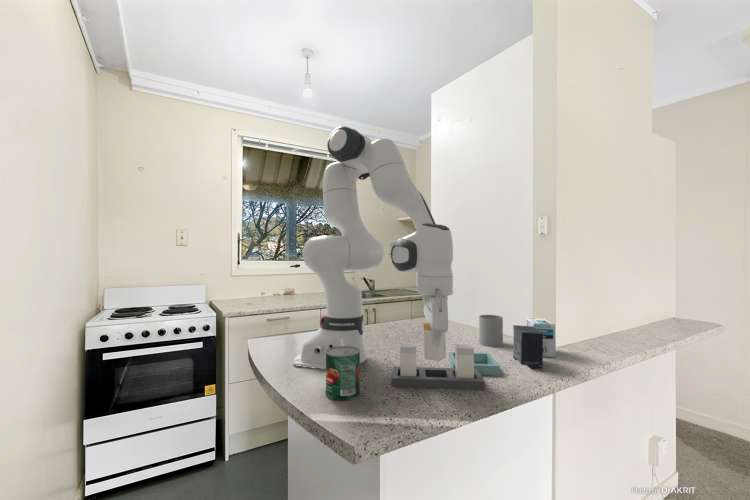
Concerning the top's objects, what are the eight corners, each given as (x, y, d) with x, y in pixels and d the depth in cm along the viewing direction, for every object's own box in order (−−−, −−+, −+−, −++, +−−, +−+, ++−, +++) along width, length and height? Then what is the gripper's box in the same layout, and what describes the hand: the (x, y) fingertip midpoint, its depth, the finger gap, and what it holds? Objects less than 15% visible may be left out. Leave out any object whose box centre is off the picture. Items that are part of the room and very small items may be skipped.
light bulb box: (556, 357, 110) (556, 324, 110) (533, 356, 111) (533, 323, 111) (546, 348, 120) (546, 318, 120) (526, 347, 122) (525, 317, 122)
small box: (544, 369, 99) (544, 332, 99) (520, 368, 100) (520, 332, 100) (533, 358, 109) (533, 325, 109) (512, 357, 110) (512, 324, 111)
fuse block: (391, 390, 84) (391, 378, 84) (393, 377, 93) (393, 366, 93) (484, 394, 81) (484, 381, 81) (477, 380, 90) (477, 368, 90)
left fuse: (400, 382, 86) (400, 346, 86) (400, 377, 90) (400, 342, 90) (416, 383, 85) (416, 347, 86) (416, 377, 89) (416, 343, 90)
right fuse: (457, 385, 84) (457, 348, 84) (455, 379, 88) (455, 344, 88) (474, 385, 84) (473, 348, 84) (471, 379, 88) (471, 344, 88)
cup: (476, 344, 126) (475, 317, 126) (483, 339, 133) (482, 314, 133) (499, 348, 121) (499, 319, 122) (505, 343, 128) (505, 316, 128)
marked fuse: (424, 359, 87) (423, 323, 87) (431, 355, 90) (430, 320, 90) (439, 361, 84) (438, 324, 84) (445, 357, 88) (444, 322, 88)
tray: (453, 377, 92) (453, 364, 92) (448, 363, 104) (448, 351, 104) (499, 379, 91) (499, 365, 91) (489, 364, 103) (489, 353, 103)
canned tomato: (318, 399, 79) (318, 351, 79) (342, 388, 85) (342, 344, 85) (343, 409, 74) (343, 357, 74) (367, 397, 80) (366, 349, 80)
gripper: (455, 292, 77) (454, 354, 77) (441, 283, 97) (441, 332, 97) (426, 292, 77) (426, 353, 77) (419, 283, 97) (418, 331, 97)
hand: (434, 341), depth 87 cm, fingers closed on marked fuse, 5 cm apart
